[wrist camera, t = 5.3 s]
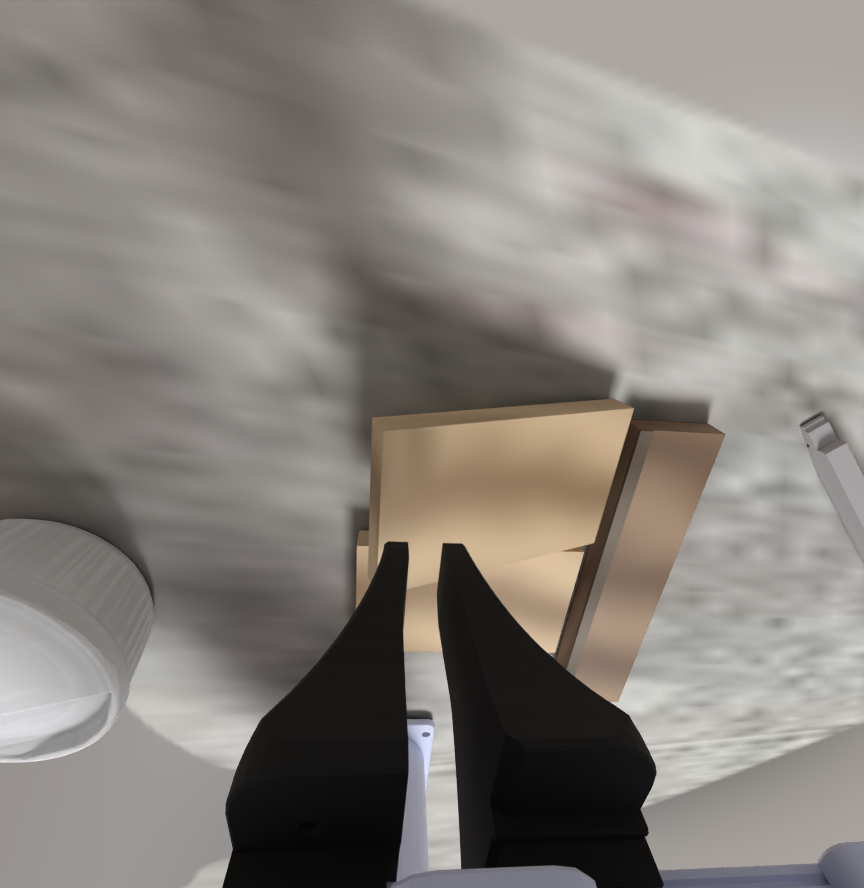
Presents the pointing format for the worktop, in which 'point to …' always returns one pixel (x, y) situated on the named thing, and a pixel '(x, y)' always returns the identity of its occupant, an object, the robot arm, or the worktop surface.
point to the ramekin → (65, 637)
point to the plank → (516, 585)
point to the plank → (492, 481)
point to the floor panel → (635, 548)
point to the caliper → (838, 476)
